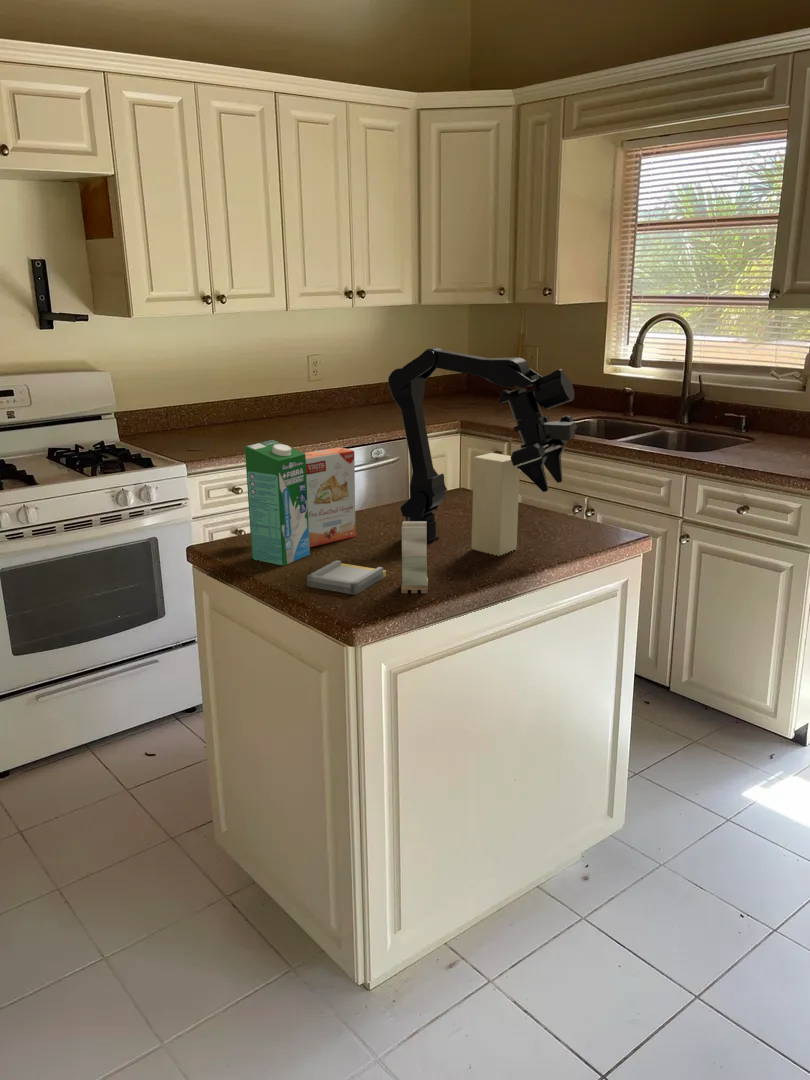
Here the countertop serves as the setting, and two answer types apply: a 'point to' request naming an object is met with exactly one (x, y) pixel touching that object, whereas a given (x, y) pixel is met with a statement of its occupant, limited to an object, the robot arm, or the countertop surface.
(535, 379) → the robot arm
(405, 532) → the pale banded rectangular block
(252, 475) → the milk carton
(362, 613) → the countertop surface
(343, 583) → the pad
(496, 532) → the tall cream block
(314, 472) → the cracker box
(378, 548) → the countertop surface
